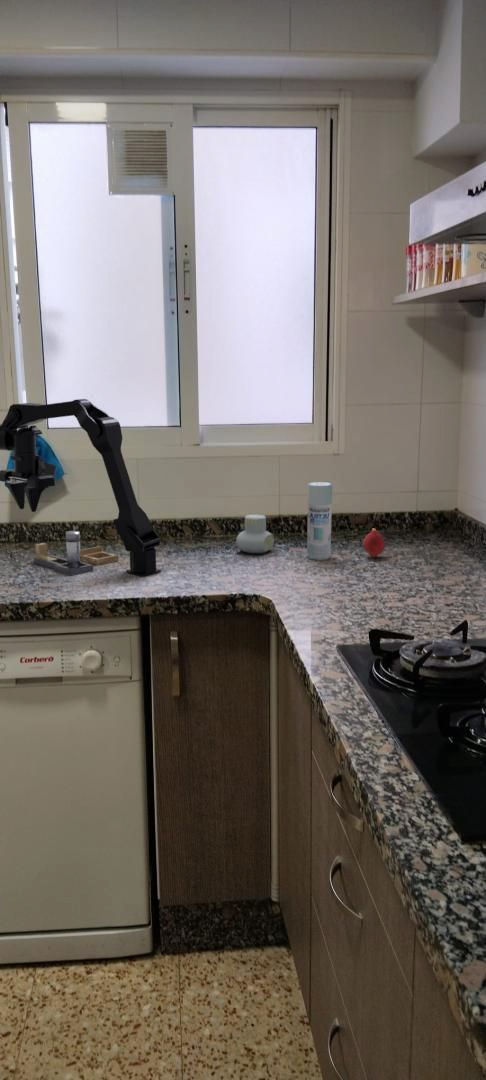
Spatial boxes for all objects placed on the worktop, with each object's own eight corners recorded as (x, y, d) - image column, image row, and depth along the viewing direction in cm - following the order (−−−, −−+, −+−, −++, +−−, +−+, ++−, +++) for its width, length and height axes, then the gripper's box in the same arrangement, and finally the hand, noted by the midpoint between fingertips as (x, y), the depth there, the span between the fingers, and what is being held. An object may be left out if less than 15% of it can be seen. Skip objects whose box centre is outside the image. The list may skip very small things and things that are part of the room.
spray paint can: (330, 554, 240) (332, 482, 236) (330, 560, 234) (332, 485, 230) (307, 554, 241) (308, 481, 237) (306, 559, 234) (307, 485, 230)
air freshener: (260, 557, 237) (260, 520, 235) (233, 554, 241) (233, 518, 239) (276, 549, 247) (276, 514, 245) (250, 546, 250) (250, 511, 248)
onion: (384, 555, 239) (385, 526, 238) (385, 560, 234) (386, 530, 232) (362, 554, 240) (363, 526, 238) (363, 559, 234) (364, 530, 233)
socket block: (93, 570, 222) (93, 564, 222) (71, 575, 217) (70, 569, 217) (52, 559, 234) (52, 553, 234) (30, 563, 229) (30, 558, 229)
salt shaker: (84, 570, 222) (82, 532, 220) (72, 573, 220) (71, 534, 217) (75, 568, 224) (74, 530, 222) (64, 570, 222) (62, 532, 220)
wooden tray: (118, 560, 233) (118, 550, 232) (97, 565, 228) (96, 554, 227) (100, 556, 238) (99, 546, 237) (78, 560, 233) (78, 550, 232)
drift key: (58, 563, 229) (57, 546, 228) (50, 564, 227) (49, 548, 226) (43, 559, 233) (43, 542, 232) (36, 560, 231) (35, 544, 230)
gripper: (71, 452, 229) (73, 510, 232) (31, 446, 241) (34, 502, 245) (34, 455, 221) (37, 516, 224) (-5, 449, 234) (-2, 507, 237)
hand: (27, 510), depth 233 cm, fingers open, 5 cm apart
